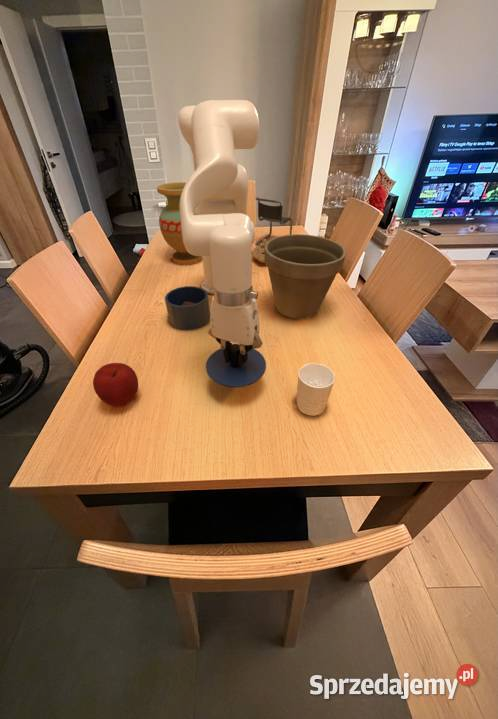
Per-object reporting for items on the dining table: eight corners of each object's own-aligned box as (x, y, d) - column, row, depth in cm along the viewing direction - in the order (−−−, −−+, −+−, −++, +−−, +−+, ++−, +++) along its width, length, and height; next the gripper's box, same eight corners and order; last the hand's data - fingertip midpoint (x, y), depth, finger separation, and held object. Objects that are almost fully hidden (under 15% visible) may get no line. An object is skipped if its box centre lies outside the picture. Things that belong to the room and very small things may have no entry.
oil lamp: (253, 268, 132) (254, 250, 127) (250, 255, 143) (250, 238, 138) (278, 267, 133) (279, 249, 127) (272, 254, 144) (273, 237, 139)
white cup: (291, 394, 75) (295, 364, 68) (322, 392, 75) (329, 362, 69) (297, 419, 69) (302, 389, 62) (331, 416, 69) (339, 386, 63)
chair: (254, 245, 153) (254, 197, 139) (270, 235, 165) (271, 190, 150) (276, 249, 148) (279, 200, 134) (291, 239, 159) (295, 193, 145)
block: (187, 312, 103) (185, 301, 100) (199, 315, 102) (197, 303, 99) (180, 319, 100) (178, 307, 97) (192, 322, 99) (190, 310, 96)
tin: (183, 305, 108) (180, 283, 102) (217, 312, 104) (215, 290, 98) (161, 324, 98) (156, 301, 93) (197, 333, 94) (194, 310, 89)
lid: (222, 343, 80) (221, 323, 76) (274, 357, 76) (275, 337, 72) (195, 379, 70) (191, 358, 66) (252, 397, 66) (252, 376, 62)
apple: (121, 421, 69) (107, 391, 62) (94, 404, 72) (78, 374, 66) (151, 395, 75) (141, 365, 68) (124, 381, 78) (113, 351, 72)
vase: (217, 256, 143) (212, 184, 123) (189, 271, 130) (178, 193, 110) (185, 248, 151) (176, 179, 131) (157, 261, 138) (141, 188, 119)
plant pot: (349, 314, 102) (364, 252, 88) (291, 337, 93) (298, 270, 79) (302, 286, 119) (309, 229, 105) (249, 302, 109) (249, 242, 95)
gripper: (277, 292, 60) (272, 360, 72) (206, 277, 65) (213, 344, 77) (264, 310, 55) (261, 381, 67) (187, 293, 59) (198, 362, 72)
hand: (235, 360), depth 72 cm, fingers closed on lid, 2 cm apart
